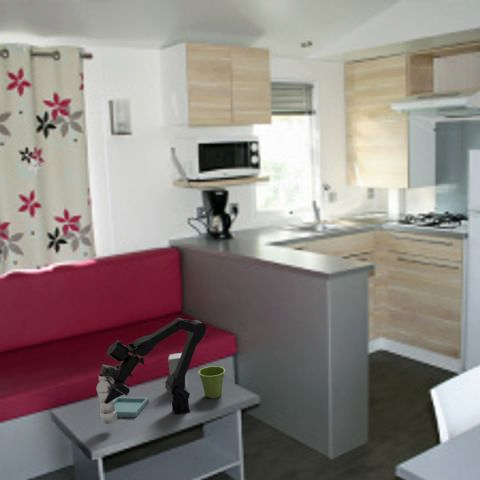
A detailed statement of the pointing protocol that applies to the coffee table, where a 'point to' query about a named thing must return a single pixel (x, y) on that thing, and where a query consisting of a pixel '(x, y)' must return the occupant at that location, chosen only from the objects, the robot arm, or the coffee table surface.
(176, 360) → the skincare box
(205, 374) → the plant pot
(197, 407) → the coffee table surface
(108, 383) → the plastic bottle
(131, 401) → the tray
